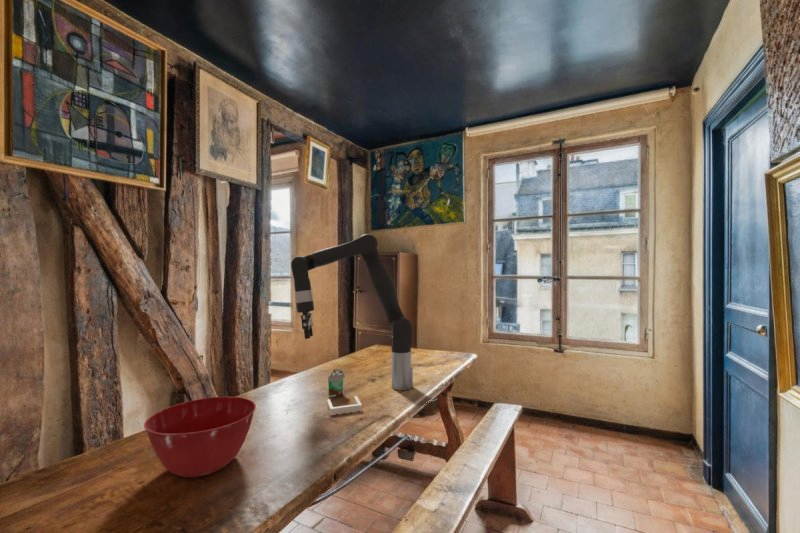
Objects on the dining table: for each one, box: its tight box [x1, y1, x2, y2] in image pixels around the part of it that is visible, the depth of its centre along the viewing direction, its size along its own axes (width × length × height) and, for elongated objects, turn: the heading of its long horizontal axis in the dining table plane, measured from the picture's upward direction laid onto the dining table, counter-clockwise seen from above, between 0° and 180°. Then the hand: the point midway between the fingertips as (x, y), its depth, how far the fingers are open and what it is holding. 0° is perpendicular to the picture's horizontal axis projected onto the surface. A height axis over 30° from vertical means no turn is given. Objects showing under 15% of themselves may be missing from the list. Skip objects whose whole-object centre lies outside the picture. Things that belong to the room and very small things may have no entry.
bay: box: [326, 395, 363, 416], centre depth 150 cm, size 12×10×2 cm
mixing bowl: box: [143, 396, 257, 479], centre depth 108 cm, size 28×28×16 cm
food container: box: [327, 368, 346, 399], centre depth 165 cm, size 12×6×10 cm, turn 179°
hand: (309, 337), depth 164 cm, fingers open, 8 cm apart
